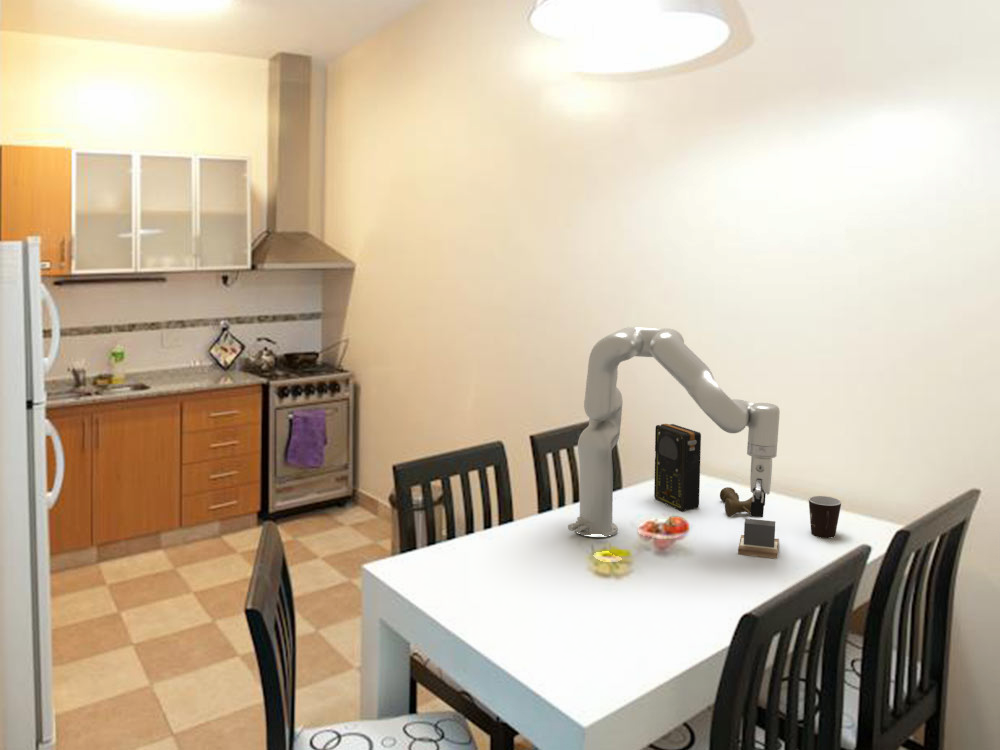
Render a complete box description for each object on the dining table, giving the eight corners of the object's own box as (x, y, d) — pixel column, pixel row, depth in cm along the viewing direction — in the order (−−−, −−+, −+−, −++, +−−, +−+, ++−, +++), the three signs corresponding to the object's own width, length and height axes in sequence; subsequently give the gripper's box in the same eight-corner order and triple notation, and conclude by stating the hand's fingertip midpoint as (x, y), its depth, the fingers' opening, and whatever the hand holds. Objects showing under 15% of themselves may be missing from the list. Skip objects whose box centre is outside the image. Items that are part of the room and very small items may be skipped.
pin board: (777, 558, 210) (778, 540, 209) (737, 554, 213) (738, 536, 213) (778, 544, 220) (779, 526, 219) (740, 539, 224) (741, 522, 223)
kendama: (741, 502, 258) (765, 521, 238) (712, 504, 257) (733, 523, 238) (741, 484, 257) (765, 502, 237) (712, 486, 256) (733, 504, 237)
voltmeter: (650, 498, 261) (652, 424, 257) (672, 495, 264) (674, 421, 260) (680, 513, 247) (682, 434, 242) (702, 508, 250) (705, 431, 246)
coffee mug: (812, 526, 233) (814, 494, 231) (843, 533, 228) (845, 499, 226) (798, 538, 224) (800, 504, 223) (830, 545, 219) (832, 510, 217)
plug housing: (774, 547, 213) (774, 526, 212) (743, 544, 216) (744, 523, 215) (774, 542, 217) (775, 521, 216) (744, 539, 220) (745, 518, 219)
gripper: (775, 459, 203) (771, 523, 206) (777, 443, 219) (773, 502, 222) (745, 456, 206) (740, 519, 209) (749, 440, 222) (745, 499, 225)
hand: (757, 510), depth 215 cm, fingers open, 9 cm apart
